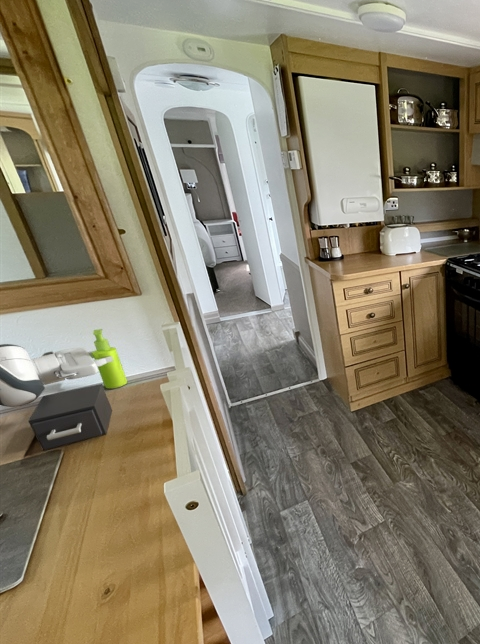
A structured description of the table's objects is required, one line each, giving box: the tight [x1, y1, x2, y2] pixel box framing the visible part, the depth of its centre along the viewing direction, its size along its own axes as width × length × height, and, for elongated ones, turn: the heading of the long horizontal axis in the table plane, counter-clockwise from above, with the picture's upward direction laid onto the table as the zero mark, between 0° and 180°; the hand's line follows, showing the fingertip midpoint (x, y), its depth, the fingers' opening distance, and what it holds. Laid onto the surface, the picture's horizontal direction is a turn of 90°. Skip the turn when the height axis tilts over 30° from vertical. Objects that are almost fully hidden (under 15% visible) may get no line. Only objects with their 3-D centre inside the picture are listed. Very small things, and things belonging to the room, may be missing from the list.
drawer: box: [31, 409, 103, 451], centre depth 104 cm, size 18×11×8 cm, turn 36°
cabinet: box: [28, 383, 113, 452], centre depth 107 cm, size 15×13×10 cm
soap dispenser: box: [92, 328, 128, 390], centre depth 129 cm, size 6×7×20 cm
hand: (110, 355), depth 129 cm, fingers closed on soap dispenser, 6 cm apart
